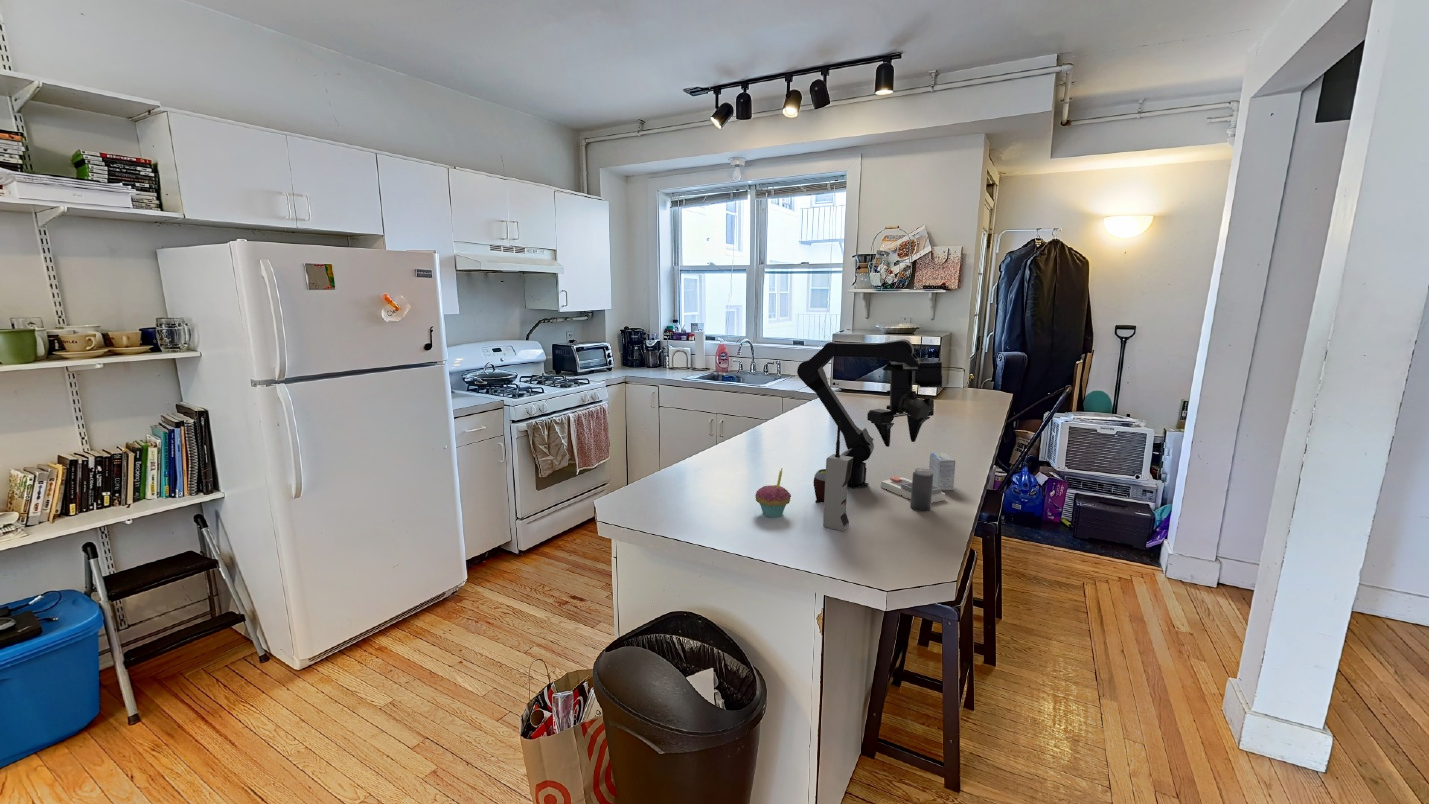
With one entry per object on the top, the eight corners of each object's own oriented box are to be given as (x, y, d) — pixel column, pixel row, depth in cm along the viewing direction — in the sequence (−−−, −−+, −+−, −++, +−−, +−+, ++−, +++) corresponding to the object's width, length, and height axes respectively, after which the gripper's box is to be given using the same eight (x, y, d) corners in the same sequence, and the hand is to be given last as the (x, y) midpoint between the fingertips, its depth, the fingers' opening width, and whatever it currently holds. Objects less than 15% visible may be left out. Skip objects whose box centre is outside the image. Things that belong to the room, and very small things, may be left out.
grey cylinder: (915, 512, 141) (918, 473, 140) (907, 505, 146) (910, 467, 144) (933, 511, 142) (937, 473, 140) (925, 504, 146) (928, 467, 145)
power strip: (922, 504, 146) (923, 493, 146) (881, 487, 159) (881, 477, 159) (944, 500, 150) (945, 489, 149) (902, 483, 163) (902, 473, 162)
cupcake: (793, 510, 141) (795, 464, 139) (785, 523, 133) (787, 474, 131) (759, 506, 144) (760, 460, 142) (750, 518, 136) (751, 469, 134)
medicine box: (953, 490, 157) (956, 460, 156) (937, 490, 157) (940, 460, 156) (942, 481, 165) (945, 452, 163) (927, 481, 165) (929, 452, 164)
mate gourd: (808, 498, 150) (810, 443, 147) (834, 495, 152) (837, 441, 150) (821, 508, 143) (824, 450, 140) (849, 505, 146) (852, 448, 143)
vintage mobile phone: (843, 532, 129) (849, 424, 124) (822, 527, 131) (828, 421, 127) (849, 526, 132) (855, 421, 127) (828, 522, 134) (834, 418, 130)
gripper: (896, 394, 141) (895, 455, 143) (950, 387, 149) (949, 445, 151) (866, 389, 151) (865, 446, 153) (918, 382, 159) (917, 437, 161)
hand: (900, 444), depth 155 cm, fingers open, 9 cm apart
